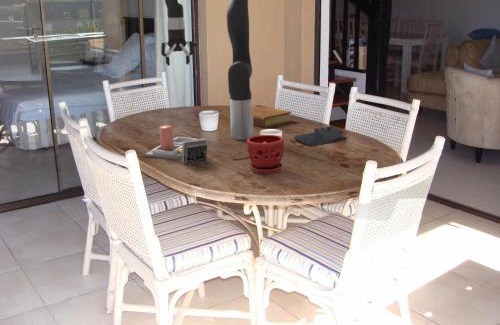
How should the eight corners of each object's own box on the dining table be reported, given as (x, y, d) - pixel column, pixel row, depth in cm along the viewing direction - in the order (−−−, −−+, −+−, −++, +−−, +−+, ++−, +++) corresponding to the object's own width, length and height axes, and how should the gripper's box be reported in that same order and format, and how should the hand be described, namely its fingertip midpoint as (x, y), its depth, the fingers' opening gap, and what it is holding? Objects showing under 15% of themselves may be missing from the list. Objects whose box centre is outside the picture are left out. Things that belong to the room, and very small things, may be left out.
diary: (231, 121, 283) (230, 110, 282) (258, 116, 296) (258, 104, 294) (263, 129, 267) (263, 117, 266) (291, 122, 279) (291, 111, 278)
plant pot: (281, 164, 214) (281, 133, 210) (285, 175, 201) (285, 142, 197) (246, 165, 213) (246, 134, 210) (248, 176, 201) (247, 143, 197)
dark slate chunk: (288, 140, 247) (288, 129, 246) (327, 133, 259) (327, 122, 257) (311, 148, 235) (311, 137, 234) (350, 140, 247) (351, 129, 245)
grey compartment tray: (203, 143, 242) (203, 138, 242) (176, 159, 221) (176, 153, 220) (174, 141, 247) (174, 135, 247) (145, 156, 226) (144, 150, 225)
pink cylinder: (176, 149, 230) (174, 125, 227) (171, 153, 226) (169, 129, 222) (164, 148, 232) (162, 125, 228) (159, 152, 227) (157, 128, 224)
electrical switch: (205, 159, 221) (204, 136, 218) (209, 164, 217) (209, 141, 213) (181, 162, 218) (181, 139, 214) (185, 167, 213) (185, 144, 210)
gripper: (161, 29, 247) (163, 66, 252) (193, 28, 252) (195, 65, 256) (158, 28, 254) (160, 64, 259) (190, 26, 258) (191, 63, 263)
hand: (178, 64), depth 258 cm, fingers open, 8 cm apart
